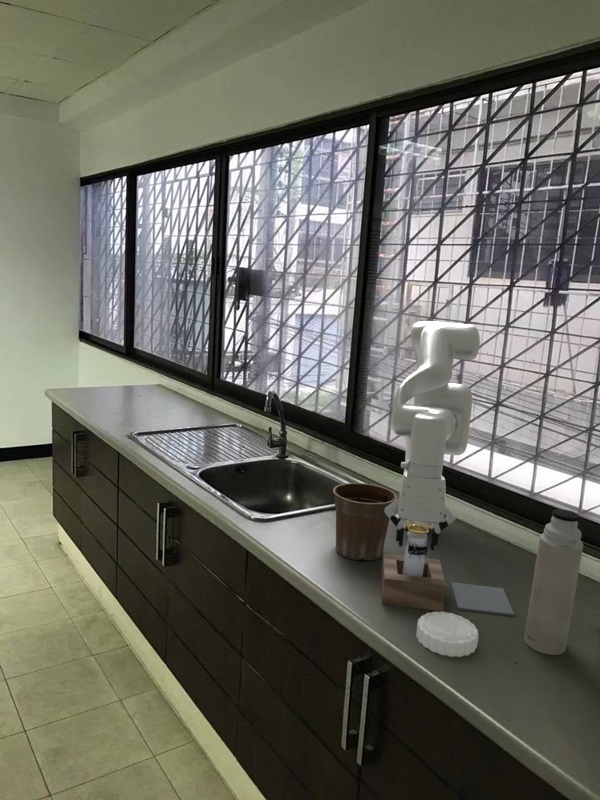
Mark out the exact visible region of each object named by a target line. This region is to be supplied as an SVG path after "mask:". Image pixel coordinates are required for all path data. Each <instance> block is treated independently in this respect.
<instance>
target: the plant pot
mask: <svg viewBox="0 0 600 800" xmlns="http://www.w3.org/2000/svg"><path fill="white" fill-rule="evenodd" d="M332 490H333V491H332V493H333V495H334V506H335V549H336V552H337V553H338V554H339V555H341V556H342V557H345V558H346V559H351V560H354V561H360V560H365V561H367V562H370V561H375V560H378V559H379V558H381V557H383V553H384V547H385V542H386V537H387V533H388V527H389V523H390V520H391V519H390V518H389V517H388V516H387V515H386V513H385V512H384V509H385V508H386V507H387V506H388V505H390V504H391V503H392V502H394V501H395V500H397V499H398V496H397V493H395V492H394V491H393V490H391V489H389V488H387V487H383V486H380V485H376V484H370V483H365V482H348V483H346V482H345V483H340V484H338V485H335V487H333V489H332Z"/></svg>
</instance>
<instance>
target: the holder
mask: <svg viewBox="0 0 600 800" xmlns="http://www.w3.org/2000/svg"><path fill="white" fill-rule="evenodd" d="M404 556H405V555H402V554H401V555H400V554H391V553H384V552H383V554H382V563H381V574H380V586H381V588H380V590H381V605H389V606H396V607H397V606H398V607H406V608H411V609H412V608H415V609H420V610H421V609H423V610H431V611H436V612H442V611H443V612H444V605H445V598H446V597H445V596H446V590H447V583H446V580H445V576H444V571H443V568H442V564H441V559H436V558H428V557H425V562H424V570H423V577H418V576H409V575H402V574H403V565H404Z"/></svg>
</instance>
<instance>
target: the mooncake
mask: <svg viewBox="0 0 600 800" xmlns="http://www.w3.org/2000/svg"><path fill="white" fill-rule="evenodd" d="M415 635H416V636H415V637H416V639H417V640H418V641H417V642H418V643H419V644H421V645H422V647H424V648H426V649H429V651H430V652H433V653H437V654H439V655H440V656H447V657H451V658H452V657H453V658H454V657H460V658H462V657H464V656H471V654H473V653H475V651H476V649H478V642H479V630H478V629H477V628H476V625H475V624H474V623H472V622H471V621H470V620H469V619H468V618H464V617H463V616H461V615H457V614H455V613H453V612H447V611H446V612H445V611H444V610H443V611H432V612H427V613H425V614H422V615H421V616H420V617H419V618H418V619H417V623H416V634H415Z"/></svg>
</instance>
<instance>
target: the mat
mask: <svg viewBox="0 0 600 800" xmlns="http://www.w3.org/2000/svg"><path fill="white" fill-rule="evenodd" d="M450 585H451V588H452V593H453V597H454V599H455V603H456V608H457V610H458V611H459V610H460V611H468V612H474V613H475V612H476V613H477V612H478V613H485V614H493V615H501V616H502V615H503V616H509V617H514V616H515V613H514V611H513V608H512V605H511V604H510V602H509V601H510V600H509V599H508V597H507V596H508V595H507V594H506V592H505V589H504V588H503V587H498V586H486V585H479V584H478V585H477V584H470V583H469V584H467V583H460V582H451V583H450Z"/></svg>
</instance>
